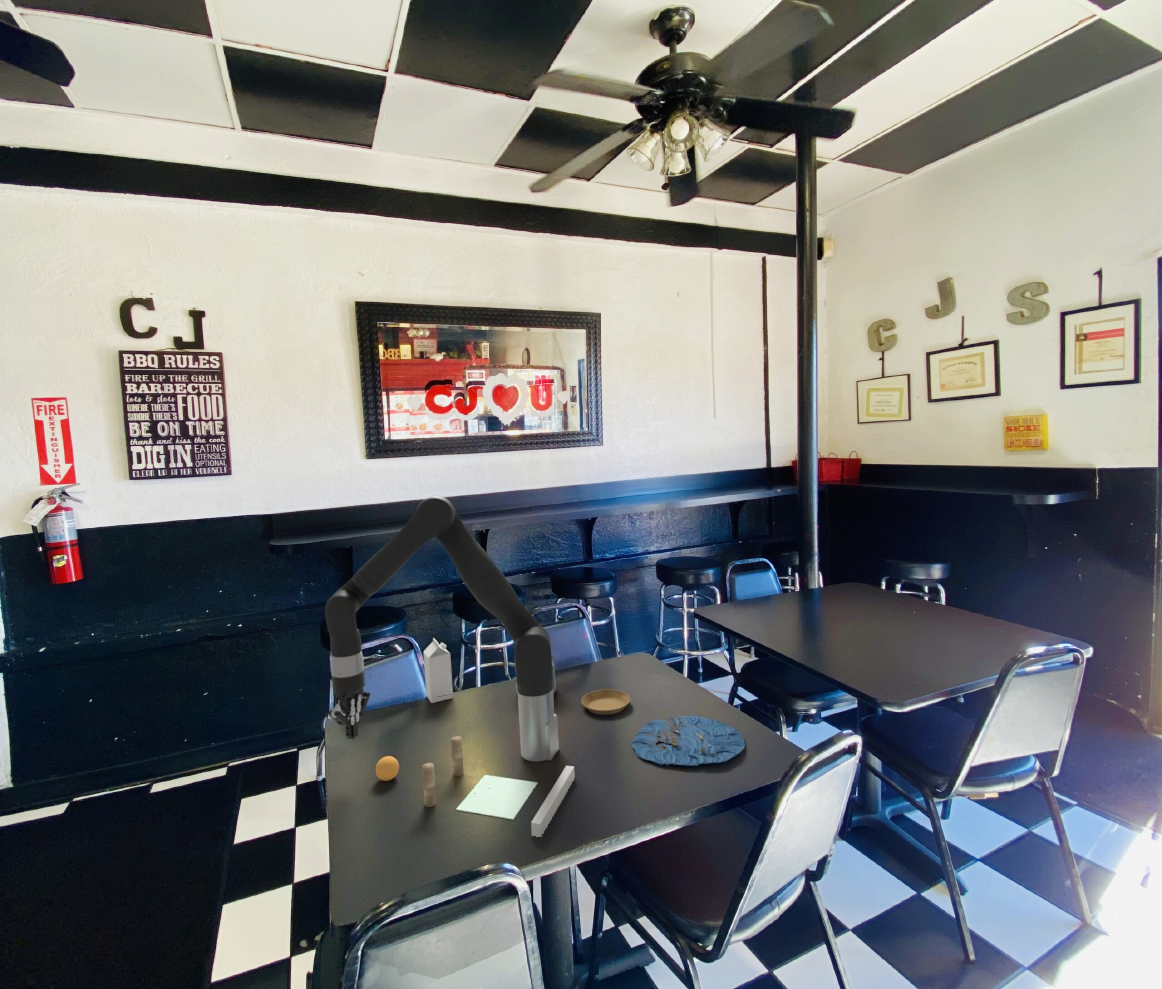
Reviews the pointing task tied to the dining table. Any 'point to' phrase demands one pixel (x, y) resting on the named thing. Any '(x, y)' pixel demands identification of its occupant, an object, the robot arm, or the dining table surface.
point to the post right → (457, 756)
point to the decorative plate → (690, 742)
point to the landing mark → (497, 797)
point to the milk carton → (438, 672)
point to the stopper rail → (552, 802)
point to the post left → (429, 784)
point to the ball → (387, 768)
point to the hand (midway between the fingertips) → (352, 737)
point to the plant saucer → (605, 701)
